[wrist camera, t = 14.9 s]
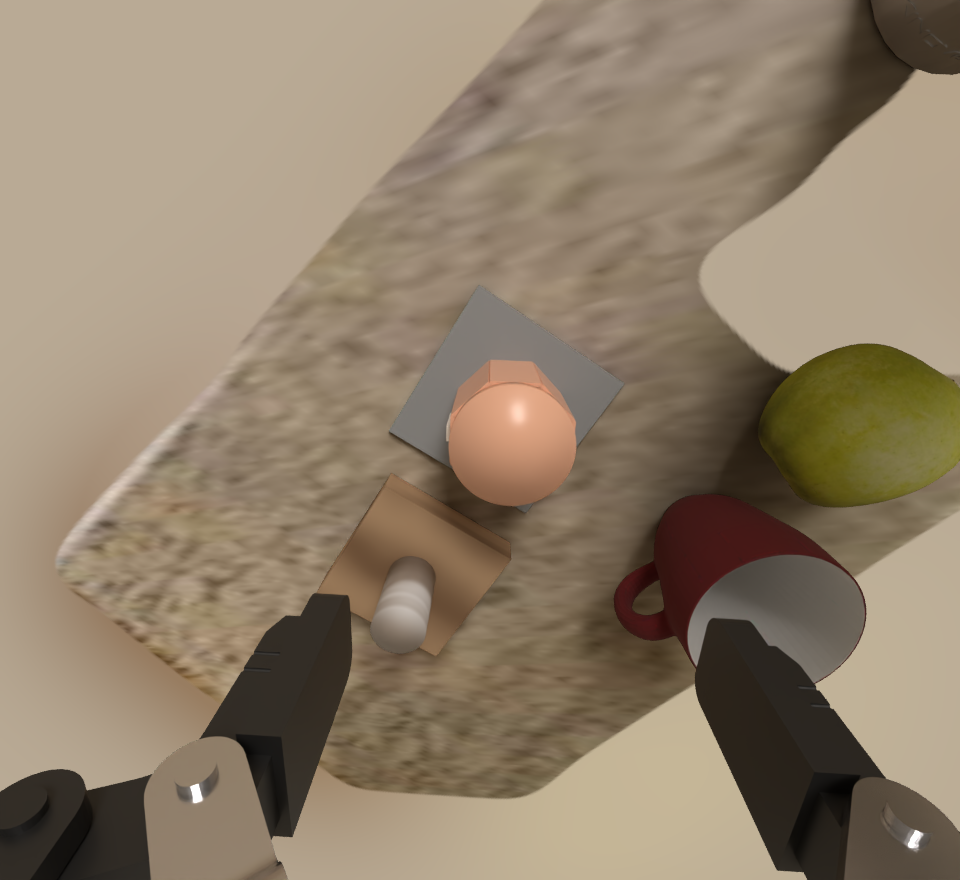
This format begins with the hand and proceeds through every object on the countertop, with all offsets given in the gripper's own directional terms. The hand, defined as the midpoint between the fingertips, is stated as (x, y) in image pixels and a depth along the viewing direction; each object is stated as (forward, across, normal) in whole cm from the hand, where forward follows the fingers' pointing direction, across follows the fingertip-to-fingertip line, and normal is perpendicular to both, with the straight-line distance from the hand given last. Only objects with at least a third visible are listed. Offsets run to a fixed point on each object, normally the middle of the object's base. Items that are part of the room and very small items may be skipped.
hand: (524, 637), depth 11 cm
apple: (+20, -18, -1) cm, 27 cm away
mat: (+20, 0, 0) cm, 20 cm away
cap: (+19, 0, 0) cm, 19 cm away
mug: (+20, -12, +8) cm, 24 cm away
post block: (+20, +5, +11) cm, 23 cm away
